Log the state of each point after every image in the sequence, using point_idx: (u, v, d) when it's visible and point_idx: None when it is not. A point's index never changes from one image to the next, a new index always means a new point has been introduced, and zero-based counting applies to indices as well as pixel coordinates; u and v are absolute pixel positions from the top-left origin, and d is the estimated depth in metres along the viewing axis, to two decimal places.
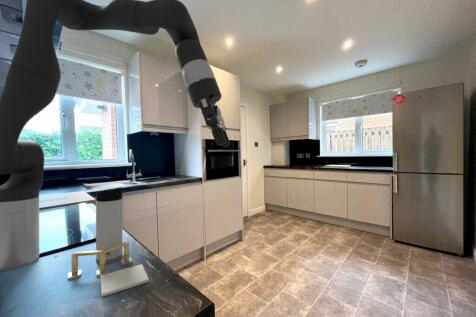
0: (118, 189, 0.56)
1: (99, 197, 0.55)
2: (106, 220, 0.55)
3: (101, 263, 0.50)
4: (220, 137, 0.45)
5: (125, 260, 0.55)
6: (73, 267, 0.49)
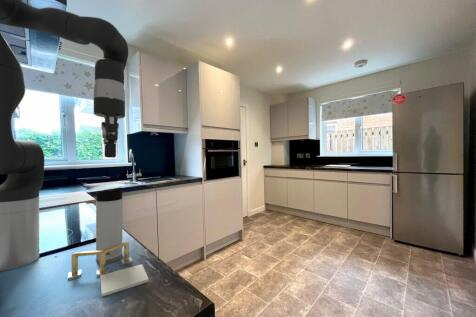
0: (118, 189, 0.56)
1: (99, 197, 0.55)
2: (106, 220, 0.55)
3: (101, 263, 0.50)
4: (113, 152, 0.53)
5: (125, 260, 0.55)
6: (73, 267, 0.49)
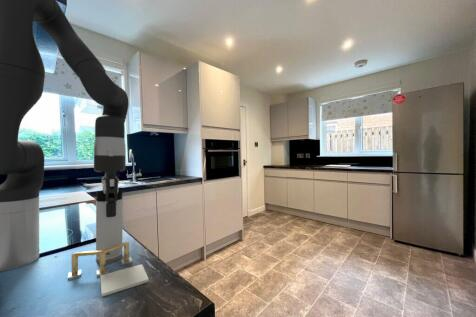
0: (118, 189, 0.56)
1: (99, 197, 0.55)
2: (106, 220, 0.55)
3: (101, 263, 0.50)
4: (113, 211, 0.54)
5: (125, 260, 0.55)
6: (73, 267, 0.49)
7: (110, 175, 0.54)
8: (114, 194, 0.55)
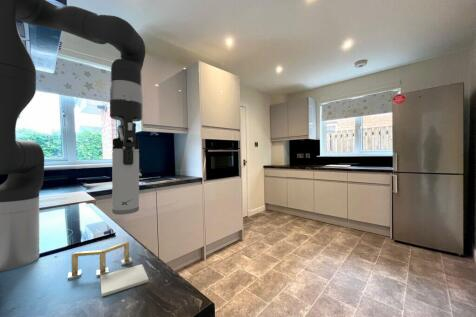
0: None
1: (116, 144, 0.52)
2: (124, 169, 0.52)
3: (101, 263, 0.50)
4: (130, 159, 0.52)
5: (125, 260, 0.55)
6: (73, 267, 0.49)
7: (127, 121, 0.52)
8: (131, 141, 0.52)
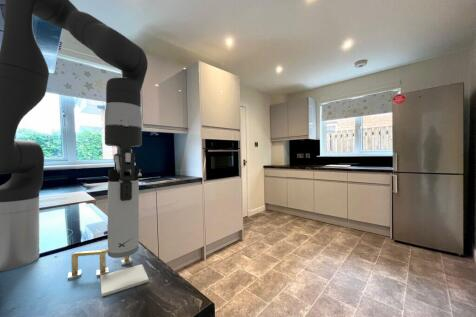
0: (134, 167, 0.46)
1: (112, 176, 0.45)
2: (121, 205, 0.45)
3: (101, 263, 0.50)
4: (128, 194, 0.44)
5: (125, 260, 0.55)
6: (73, 267, 0.49)
7: (125, 149, 0.45)
8: (129, 173, 0.45)
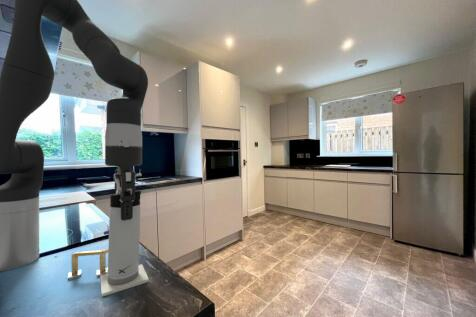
0: (137, 193, 0.47)
1: (114, 202, 0.45)
2: (122, 231, 0.45)
3: (101, 263, 0.50)
4: (129, 213, 0.44)
5: None
6: (73, 267, 0.49)
7: (125, 170, 0.44)
8: (130, 192, 0.45)
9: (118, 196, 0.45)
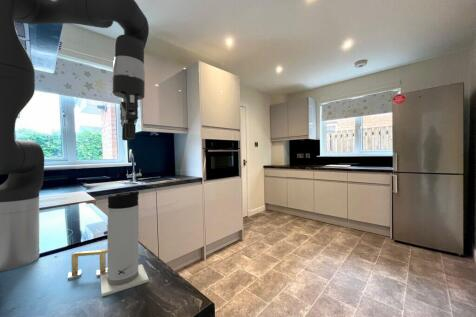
0: (134, 193, 0.46)
1: (112, 203, 0.45)
2: (120, 232, 0.45)
3: (101, 263, 0.50)
4: (132, 132, 0.51)
5: None
6: (73, 267, 0.49)
7: None
8: None
9: (115, 197, 0.45)
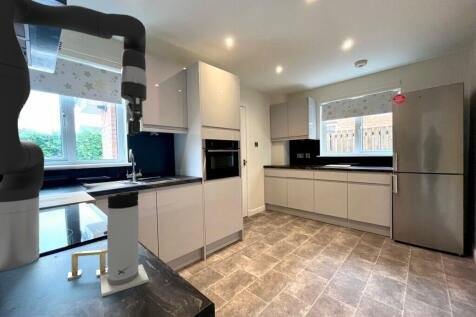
0: (134, 193, 0.46)
1: (112, 203, 0.45)
2: (120, 232, 0.45)
3: (101, 263, 0.50)
4: (138, 128, 0.63)
5: None
6: (73, 267, 0.49)
7: None
8: (138, 114, 0.64)
9: (115, 197, 0.45)
